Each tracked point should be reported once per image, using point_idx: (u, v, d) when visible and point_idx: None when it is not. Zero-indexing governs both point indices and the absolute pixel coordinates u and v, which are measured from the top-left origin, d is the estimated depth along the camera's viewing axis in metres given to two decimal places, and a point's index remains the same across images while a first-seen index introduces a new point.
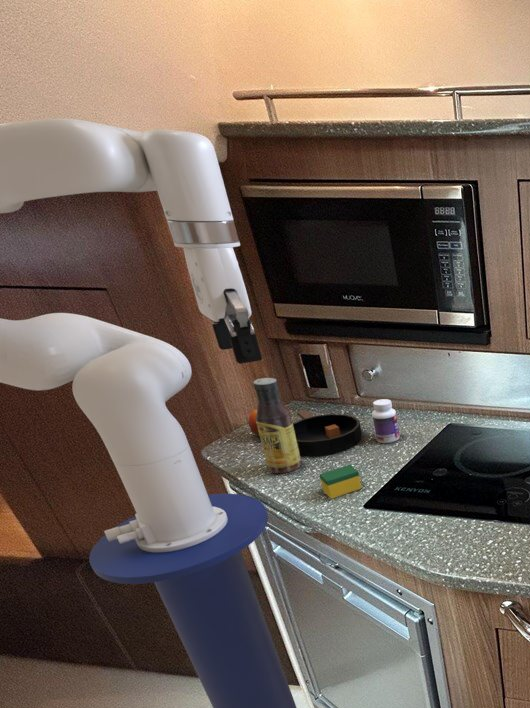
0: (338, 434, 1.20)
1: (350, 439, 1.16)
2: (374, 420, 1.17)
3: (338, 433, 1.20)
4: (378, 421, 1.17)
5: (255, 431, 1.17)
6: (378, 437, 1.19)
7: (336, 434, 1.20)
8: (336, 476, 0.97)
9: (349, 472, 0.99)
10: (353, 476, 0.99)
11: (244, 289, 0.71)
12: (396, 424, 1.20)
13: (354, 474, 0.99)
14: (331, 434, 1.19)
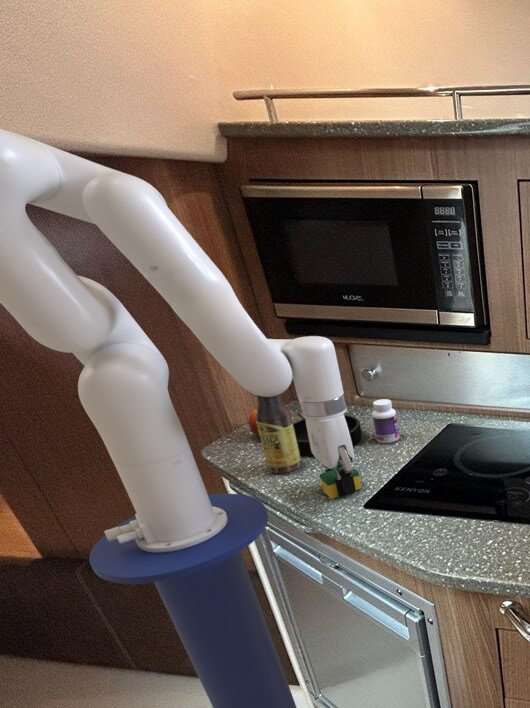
0: None
1: None
2: (374, 420, 1.17)
3: None
4: (378, 421, 1.17)
5: (255, 431, 1.17)
6: (378, 437, 1.19)
7: None
8: None
9: None
10: (353, 476, 0.99)
11: (351, 443, 0.94)
12: (396, 424, 1.20)
13: (354, 474, 0.99)
14: None
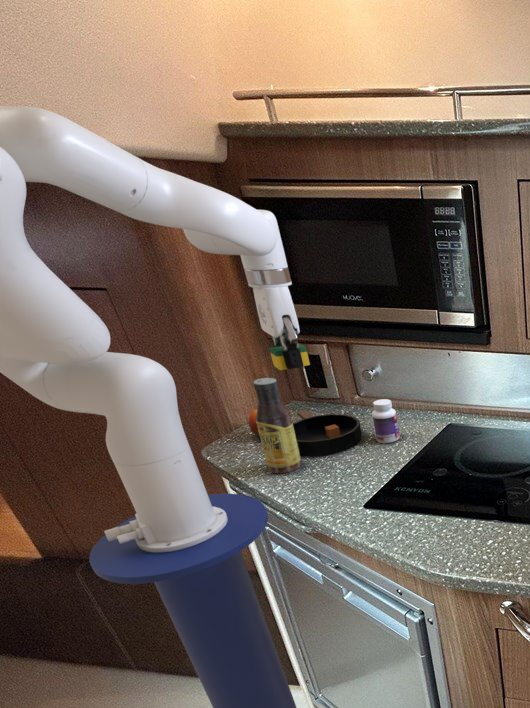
0: (338, 434, 1.20)
1: (350, 439, 1.16)
2: (374, 420, 1.17)
3: (338, 433, 1.20)
4: (378, 421, 1.17)
5: (255, 431, 1.17)
6: (378, 437, 1.19)
7: (336, 434, 1.20)
8: None
9: None
10: (301, 351, 1.07)
11: (295, 315, 1.02)
12: (396, 424, 1.20)
13: (302, 349, 1.07)
14: (331, 434, 1.19)
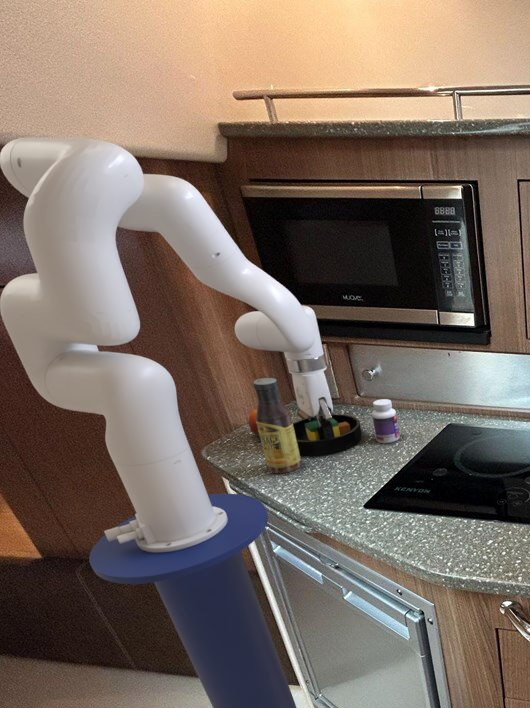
0: None
1: (350, 439, 1.16)
2: (374, 420, 1.17)
3: (349, 430, 1.22)
4: (378, 421, 1.17)
5: (255, 431, 1.17)
6: (378, 437, 1.19)
7: (347, 431, 1.21)
8: None
9: None
10: (333, 426, 1.18)
11: (330, 396, 1.12)
12: (396, 424, 1.20)
13: (334, 424, 1.18)
14: (342, 431, 1.21)
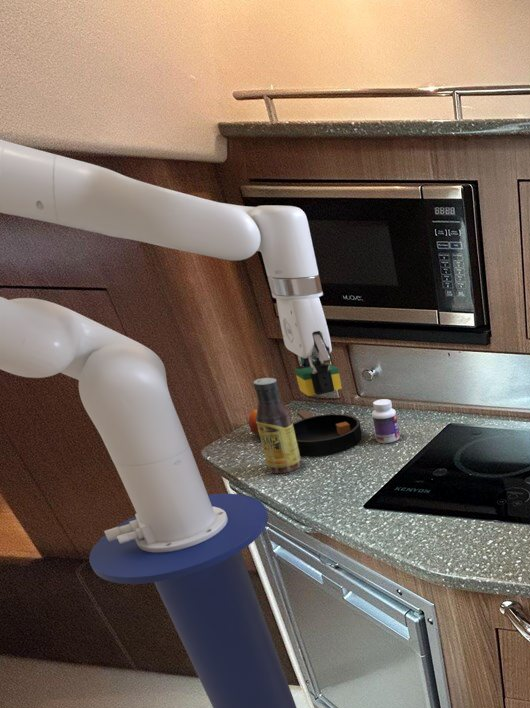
0: None
1: (350, 439, 1.16)
2: (374, 420, 1.17)
3: (349, 430, 1.22)
4: (378, 421, 1.17)
5: (255, 431, 1.17)
6: (378, 437, 1.19)
7: (347, 431, 1.21)
8: None
9: None
10: (332, 373, 0.91)
11: (327, 331, 0.85)
12: (396, 424, 1.20)
13: (333, 371, 0.91)
14: (342, 431, 1.21)
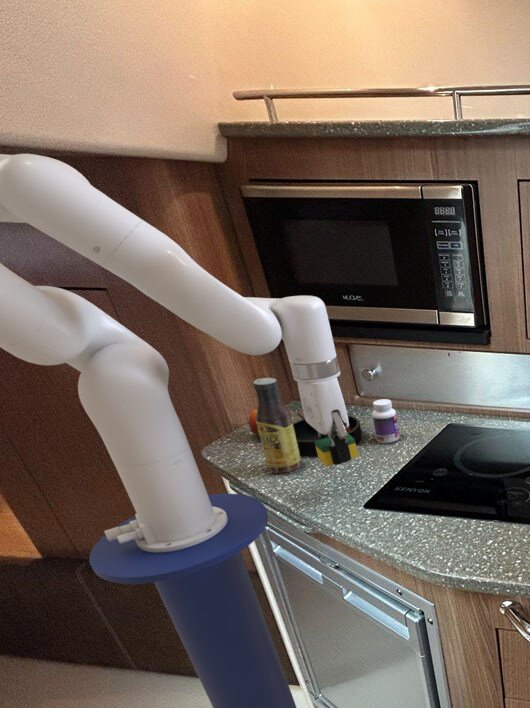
0: None
1: None
2: (374, 420, 1.17)
3: (349, 430, 1.22)
4: (378, 421, 1.17)
5: (255, 431, 1.17)
6: (378, 437, 1.19)
7: (347, 431, 1.21)
8: None
9: None
10: (349, 443, 0.96)
11: (345, 408, 0.91)
12: (396, 424, 1.20)
13: (350, 441, 0.96)
14: None
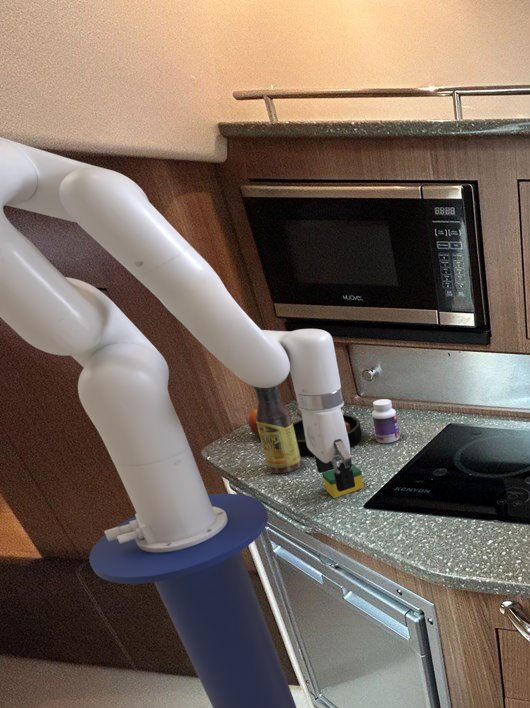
0: None
1: (350, 439, 1.16)
2: (374, 420, 1.17)
3: (349, 430, 1.22)
4: (378, 421, 1.17)
5: (255, 431, 1.17)
6: (378, 437, 1.19)
7: (347, 431, 1.21)
8: None
9: None
10: (356, 475, 0.99)
11: (347, 438, 0.93)
12: (396, 424, 1.20)
13: (357, 473, 0.99)
14: None
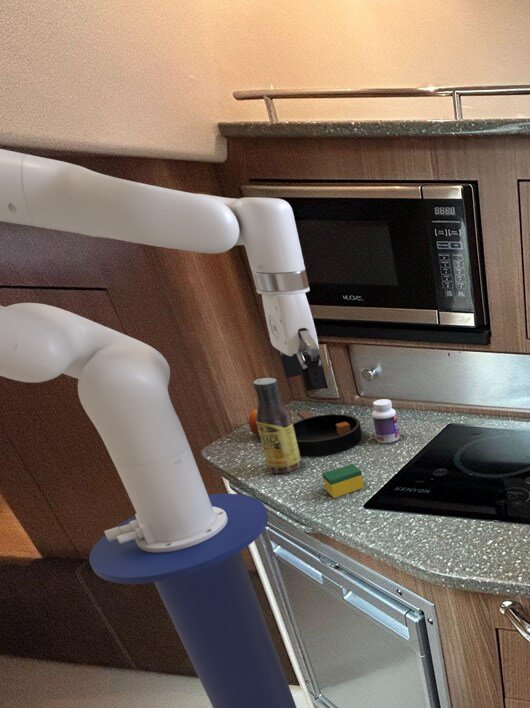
0: None
1: (350, 439, 1.16)
2: (374, 420, 1.17)
3: (349, 430, 1.22)
4: (378, 421, 1.17)
5: (255, 431, 1.17)
6: (378, 437, 1.19)
7: (347, 431, 1.21)
8: (339, 475, 0.98)
9: (352, 471, 0.99)
10: (356, 475, 0.99)
11: (314, 328, 0.83)
12: (396, 424, 1.20)
13: (357, 473, 0.99)
14: (342, 431, 1.21)
